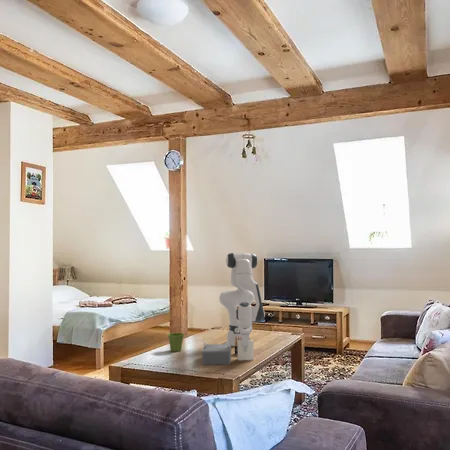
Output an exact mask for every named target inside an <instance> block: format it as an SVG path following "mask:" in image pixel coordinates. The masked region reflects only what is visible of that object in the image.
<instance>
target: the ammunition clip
mask: <svg viewBox="0 0 450 450" xmlns="http://www.w3.org/2000/svg"><path fill="white" fill-rule="evenodd" d="M250 338H251V337H250V336H249V340H251V339H250ZM238 340H242V339H241V337H240V339H239V336H238ZM237 344H238V342H237V336H236V337H235V346H234V355H238V346H237Z"/></svg>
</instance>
